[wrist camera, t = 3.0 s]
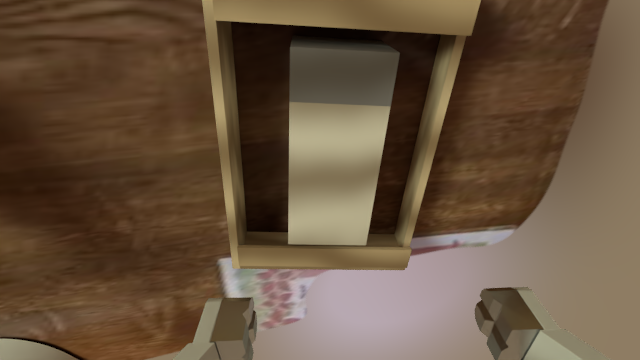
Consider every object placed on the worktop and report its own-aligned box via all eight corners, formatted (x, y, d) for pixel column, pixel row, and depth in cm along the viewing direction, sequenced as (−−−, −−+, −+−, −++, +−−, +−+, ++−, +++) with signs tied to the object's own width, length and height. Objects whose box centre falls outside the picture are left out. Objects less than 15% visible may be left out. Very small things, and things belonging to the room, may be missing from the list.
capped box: (356, 207, 29) (366, 245, 25) (290, 205, 28) (288, 244, 24) (381, 40, 22) (399, 53, 17) (292, 35, 21) (290, 46, 17)
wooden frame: (399, 238, 31) (412, 272, 27) (241, 236, 30) (232, 271, 26) (461, -17, 20) (497, -19, 16) (216, -35, 19) (195, -41, 15)
